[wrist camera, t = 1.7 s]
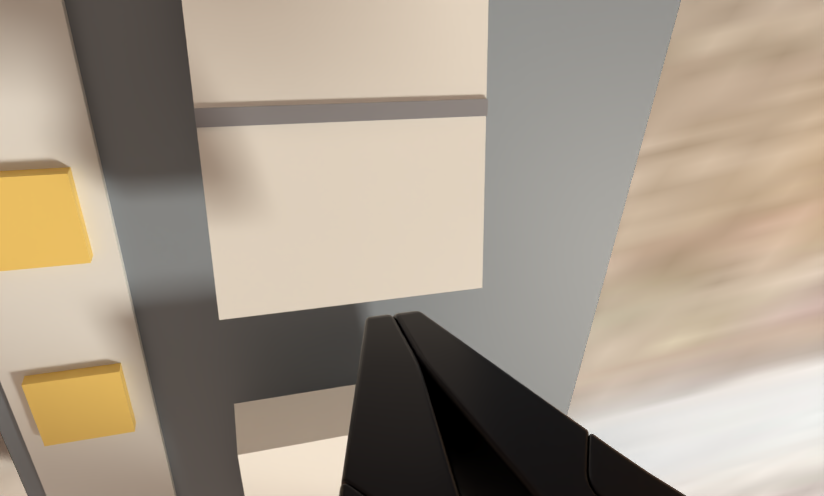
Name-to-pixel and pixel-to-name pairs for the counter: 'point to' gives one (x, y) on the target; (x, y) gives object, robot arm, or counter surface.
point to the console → (191, 252)
